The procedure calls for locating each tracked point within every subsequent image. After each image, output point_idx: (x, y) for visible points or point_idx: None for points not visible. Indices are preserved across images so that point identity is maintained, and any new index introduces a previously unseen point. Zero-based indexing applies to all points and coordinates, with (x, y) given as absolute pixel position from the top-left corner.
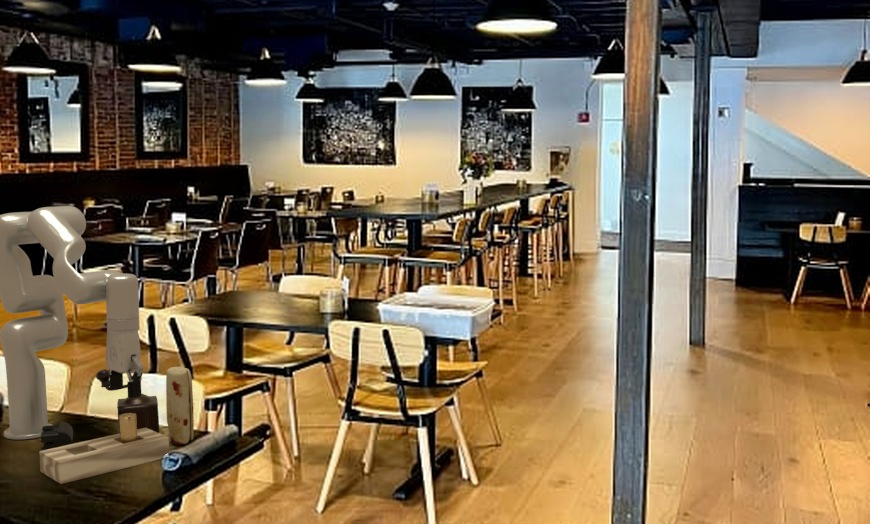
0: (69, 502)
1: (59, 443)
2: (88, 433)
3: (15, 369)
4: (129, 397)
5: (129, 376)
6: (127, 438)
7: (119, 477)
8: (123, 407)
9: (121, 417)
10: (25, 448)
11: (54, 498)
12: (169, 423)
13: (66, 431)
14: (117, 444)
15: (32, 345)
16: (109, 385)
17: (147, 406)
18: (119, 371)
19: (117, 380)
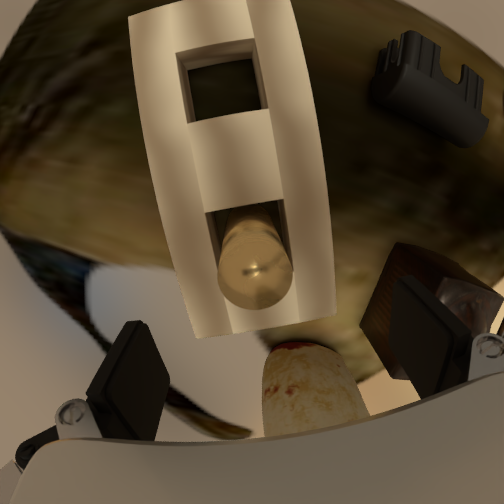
0: (38, 60)
1: (386, 72)
2: (485, 205)
3: None
4: (127, 323)
5: (65, 435)
6: (225, 234)
7: (111, 166)
8: (444, 295)
9: (236, 245)
10: None
11: (72, 31)
12: (301, 370)
13: (416, 94)
14: (208, 194)
15: None
16: None
17: None
18: (91, 448)
19: (416, 350)
